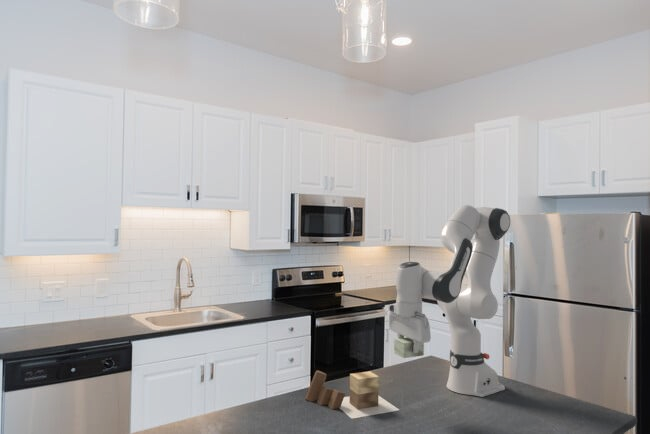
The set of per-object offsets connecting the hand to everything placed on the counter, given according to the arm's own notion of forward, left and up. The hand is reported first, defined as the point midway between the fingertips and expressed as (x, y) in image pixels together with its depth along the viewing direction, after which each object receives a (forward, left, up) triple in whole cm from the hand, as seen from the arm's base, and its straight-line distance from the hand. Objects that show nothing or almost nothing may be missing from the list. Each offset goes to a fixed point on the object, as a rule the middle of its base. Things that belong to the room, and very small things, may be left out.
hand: (408, 349), depth 154 cm
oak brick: (+14, -6, -14) cm, 21 cm away
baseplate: (+14, -6, -20) cm, 25 cm away
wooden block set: (+26, -15, -21) cm, 37 cm away
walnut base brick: (+14, -6, -19) cm, 24 cm away
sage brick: (0, 0, -2) cm, 2 cm away
